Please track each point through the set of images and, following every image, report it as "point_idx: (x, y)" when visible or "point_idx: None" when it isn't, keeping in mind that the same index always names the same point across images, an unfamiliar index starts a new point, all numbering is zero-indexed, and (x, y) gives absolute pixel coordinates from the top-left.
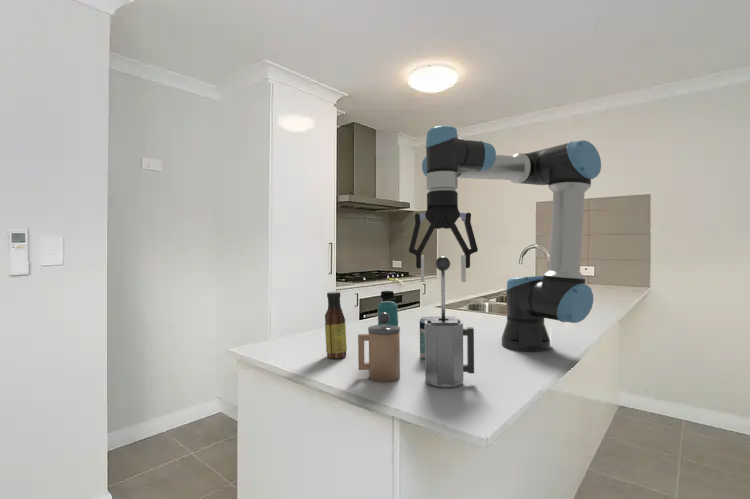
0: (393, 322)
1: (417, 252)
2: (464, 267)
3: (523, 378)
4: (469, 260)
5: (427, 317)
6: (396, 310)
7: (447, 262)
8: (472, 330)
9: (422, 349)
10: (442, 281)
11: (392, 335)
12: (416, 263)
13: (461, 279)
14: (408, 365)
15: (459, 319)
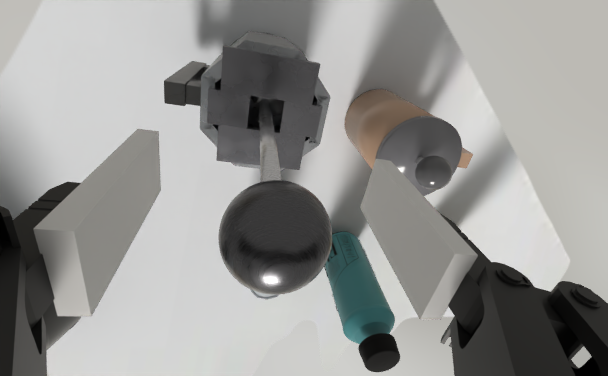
0: (349, 279)
1: (521, 283)
2: (108, 170)
3: (69, 78)
4: (25, 216)
5: (264, 297)
6: (347, 308)
7: (249, 201)
8: (170, 80)
9: None
10: (275, 167)
11: (404, 120)
12: (463, 233)
13: (157, 187)
14: (313, 183)
15: (207, 108)
